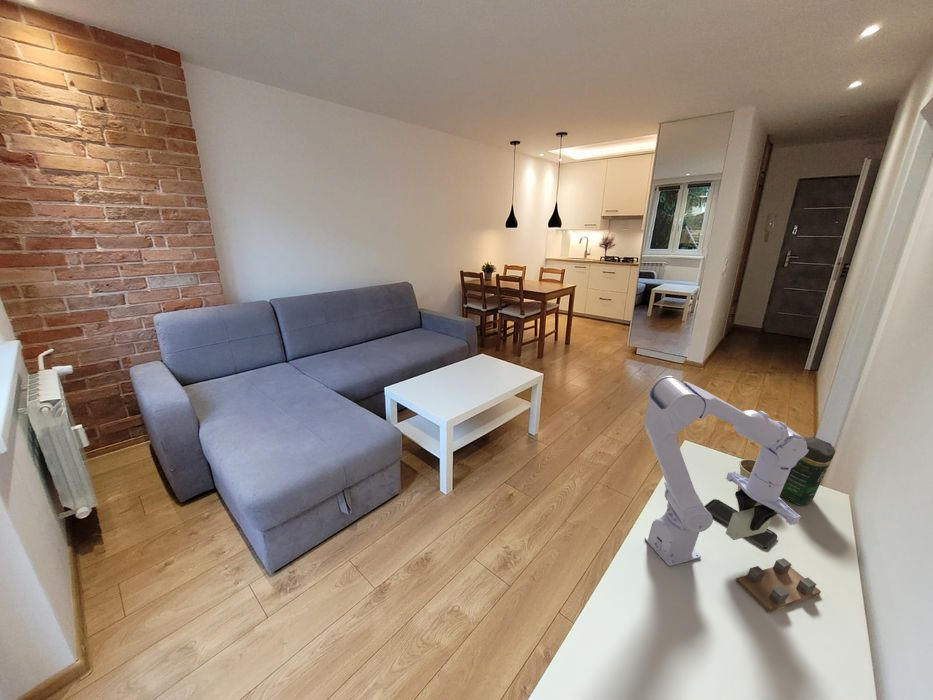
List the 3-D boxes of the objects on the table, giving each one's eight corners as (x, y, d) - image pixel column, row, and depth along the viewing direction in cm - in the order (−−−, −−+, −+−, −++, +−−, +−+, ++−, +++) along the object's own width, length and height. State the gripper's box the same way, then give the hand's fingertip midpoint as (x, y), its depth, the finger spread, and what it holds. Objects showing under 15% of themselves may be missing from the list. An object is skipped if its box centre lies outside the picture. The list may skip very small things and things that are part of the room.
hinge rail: (768, 612, 73) (774, 600, 72) (735, 581, 79) (740, 569, 78) (819, 594, 77) (825, 582, 76) (784, 566, 84) (789, 554, 82)
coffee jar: (803, 510, 101) (828, 454, 95) (770, 492, 107) (791, 439, 101) (817, 499, 106) (842, 445, 99) (784, 482, 112) (806, 430, 106)
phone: (715, 497, 103) (779, 535, 91) (714, 501, 103) (777, 538, 92) (701, 508, 99) (766, 548, 87) (700, 511, 99) (764, 552, 87)
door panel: (733, 540, 82) (741, 519, 80) (725, 533, 84) (733, 513, 82) (765, 531, 85) (774, 511, 83) (757, 525, 87) (765, 505, 85)
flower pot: (723, 485, 109) (731, 461, 107) (745, 480, 112) (754, 456, 109) (754, 507, 101) (764, 482, 98) (778, 501, 104) (788, 476, 101)
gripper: (819, 496, 74) (795, 547, 78) (749, 454, 87) (732, 499, 91) (794, 502, 72) (771, 553, 76) (726, 458, 85) (710, 504, 89)
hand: (748, 524), depth 84 cm, fingers closed on door panel, 2 cm apart
